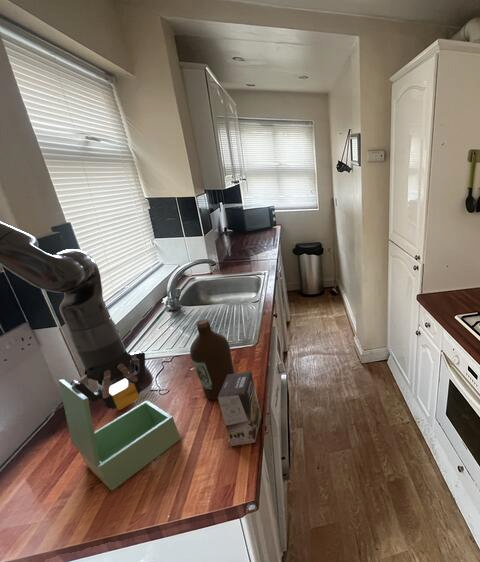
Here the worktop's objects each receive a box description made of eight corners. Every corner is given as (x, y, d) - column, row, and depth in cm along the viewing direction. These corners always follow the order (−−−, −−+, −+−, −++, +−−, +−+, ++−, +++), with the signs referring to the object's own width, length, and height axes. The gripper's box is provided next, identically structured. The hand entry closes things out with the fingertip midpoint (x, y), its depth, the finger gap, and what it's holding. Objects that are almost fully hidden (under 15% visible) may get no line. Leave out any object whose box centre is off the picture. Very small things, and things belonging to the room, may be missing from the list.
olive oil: (226, 374, 105) (209, 309, 96) (245, 385, 100) (229, 318, 90) (196, 393, 97) (174, 324, 88) (215, 406, 92) (193, 335, 82)
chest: (155, 421, 87) (146, 400, 84) (180, 438, 81) (172, 416, 78) (87, 466, 75) (74, 443, 72) (111, 491, 69) (99, 467, 66)
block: (110, 404, 73) (103, 389, 72) (131, 392, 77) (124, 378, 75) (119, 410, 71) (112, 395, 70) (140, 398, 75) (134, 383, 73)
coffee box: (256, 442, 80) (244, 394, 73) (230, 446, 79) (216, 398, 73) (262, 415, 88) (252, 370, 82) (238, 419, 87) (226, 373, 81)
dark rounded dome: (125, 411, 91) (107, 370, 85) (112, 398, 96) (93, 358, 91) (162, 390, 99) (148, 351, 93) (148, 379, 104) (133, 341, 98)
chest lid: (63, 378, 68) (58, 380, 67) (88, 397, 62) (82, 399, 62) (76, 441, 72) (71, 443, 71) (100, 464, 66) (95, 467, 65)
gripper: (126, 321, 75) (148, 377, 81) (48, 353, 63) (81, 415, 70) (142, 328, 71) (164, 386, 78) (62, 363, 60) (95, 427, 66)
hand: (124, 400), depth 74 cm, fingers closed on block, 4 cm apart
